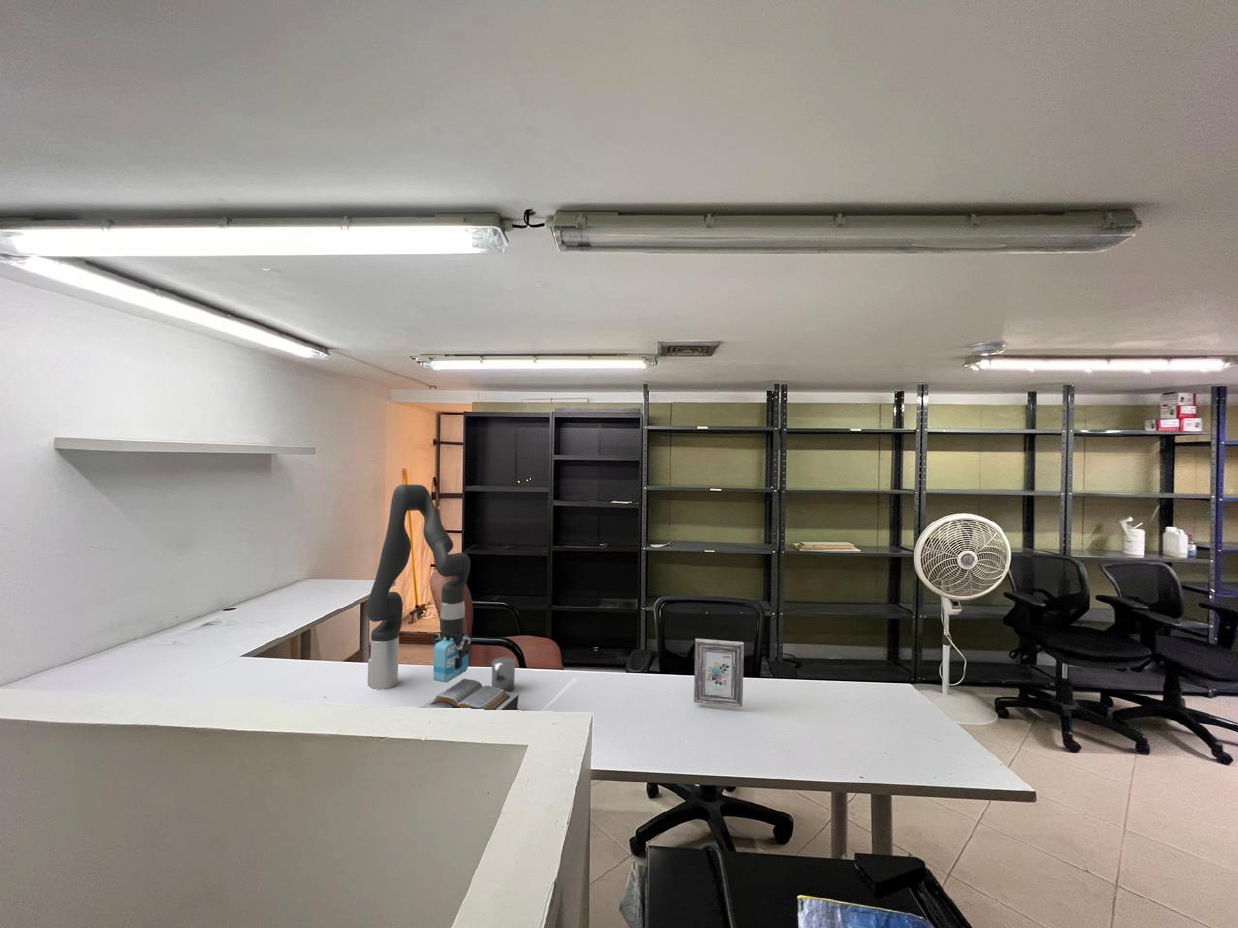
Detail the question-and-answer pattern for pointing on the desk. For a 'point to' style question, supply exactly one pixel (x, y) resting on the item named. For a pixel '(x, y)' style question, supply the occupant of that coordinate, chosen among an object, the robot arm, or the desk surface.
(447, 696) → the bible
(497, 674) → the grey domed cylinder
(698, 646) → the picture frame
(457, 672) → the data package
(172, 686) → the desk surface
